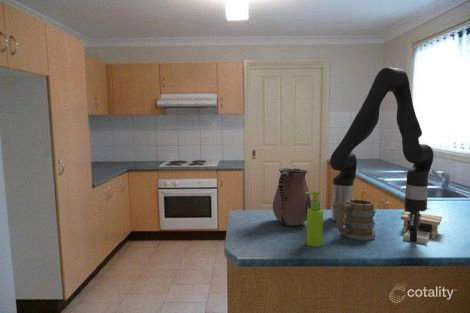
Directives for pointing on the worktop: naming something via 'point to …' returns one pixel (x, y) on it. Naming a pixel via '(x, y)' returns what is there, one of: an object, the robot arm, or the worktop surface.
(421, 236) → the white pull-out drawer
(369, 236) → the tankard
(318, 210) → the soap dispenser
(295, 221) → the ceramic pitcher
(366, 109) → the robot arm
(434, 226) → the small wooden table
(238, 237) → the worktop surface
